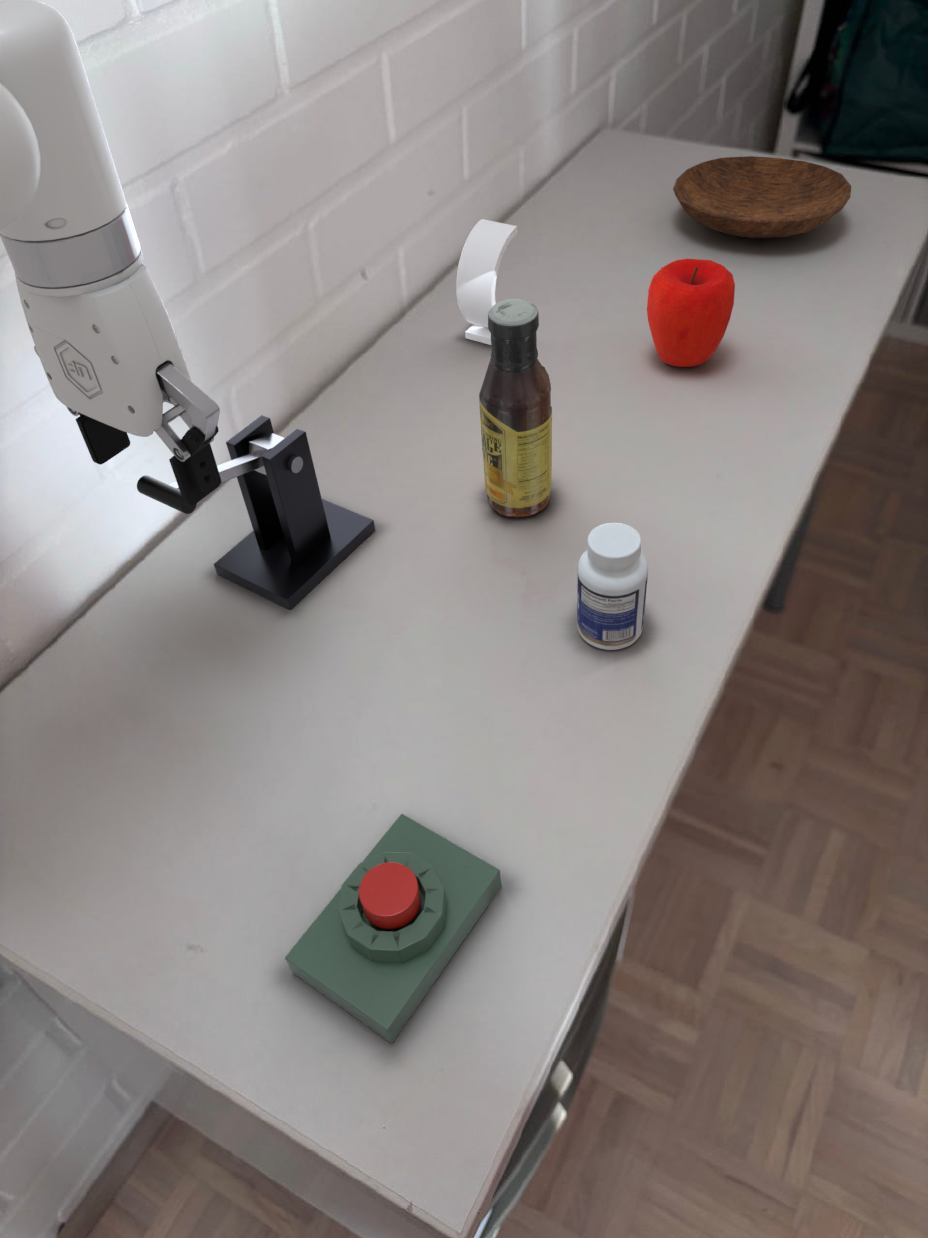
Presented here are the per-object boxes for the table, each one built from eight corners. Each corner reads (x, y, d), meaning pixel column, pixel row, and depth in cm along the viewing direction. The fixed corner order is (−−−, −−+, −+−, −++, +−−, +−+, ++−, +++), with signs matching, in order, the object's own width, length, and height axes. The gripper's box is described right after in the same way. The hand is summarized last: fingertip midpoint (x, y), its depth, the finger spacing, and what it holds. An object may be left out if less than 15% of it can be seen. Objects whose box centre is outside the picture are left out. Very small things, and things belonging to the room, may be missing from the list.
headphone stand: (521, 326, 111) (517, 226, 102) (494, 351, 108) (488, 249, 99) (487, 318, 113) (481, 218, 104) (460, 342, 110) (451, 241, 101)
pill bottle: (597, 595, 80) (600, 507, 73) (654, 619, 78) (663, 530, 71) (564, 635, 77) (564, 547, 70) (622, 662, 75) (628, 573, 68)
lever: (183, 522, 70) (181, 493, 69) (137, 501, 72) (135, 472, 71) (304, 471, 80) (304, 445, 78) (261, 454, 82) (260, 428, 80)
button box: (392, 1044, 56) (382, 1018, 53) (291, 972, 60) (277, 944, 57) (501, 886, 63) (498, 855, 60) (405, 829, 66) (398, 798, 63)
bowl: (826, 270, 115) (835, 229, 111) (651, 247, 122) (653, 208, 119) (856, 202, 126) (864, 164, 123) (694, 185, 134) (697, 148, 130)
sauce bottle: (482, 484, 92) (467, 292, 77) (546, 475, 92) (543, 282, 77) (491, 528, 87) (476, 333, 73) (558, 519, 87) (557, 323, 73)
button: (397, 940, 57) (393, 927, 55) (351, 910, 58) (346, 897, 57) (432, 893, 59) (429, 880, 57) (386, 865, 60) (383, 851, 59)
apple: (665, 391, 100) (674, 295, 92) (629, 351, 106) (634, 258, 98) (740, 371, 101) (755, 275, 94) (700, 332, 107) (711, 239, 99)
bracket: (290, 610, 82) (255, 494, 72) (216, 573, 86) (174, 459, 76) (375, 529, 88) (353, 414, 79) (303, 499, 92) (274, 385, 83)
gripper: (-64, 241, 59) (41, 465, 71) (121, 304, 51) (203, 542, 64) (35, 197, 63) (118, 416, 75) (219, 249, 56) (278, 482, 68)
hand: (157, 473), depth 69 cm, fingers open, 9 cm apart
